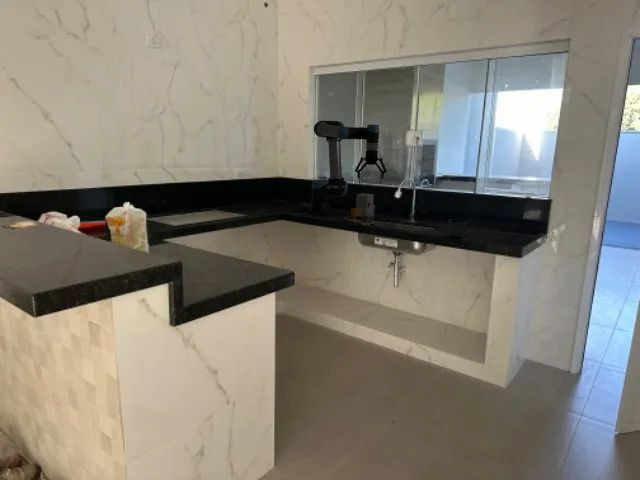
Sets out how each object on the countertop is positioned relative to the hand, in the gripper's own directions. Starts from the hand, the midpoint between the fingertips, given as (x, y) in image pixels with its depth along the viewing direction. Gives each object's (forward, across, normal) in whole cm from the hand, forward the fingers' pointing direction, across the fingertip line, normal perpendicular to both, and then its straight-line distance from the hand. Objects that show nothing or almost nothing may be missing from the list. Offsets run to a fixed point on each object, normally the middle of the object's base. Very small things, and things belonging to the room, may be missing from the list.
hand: (370, 183), depth 288 cm
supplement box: (+25, +1, +21) cm, 33 cm away
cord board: (+25, -5, -2) cm, 25 cm away
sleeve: (+23, -7, +3) cm, 24 cm away
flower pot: (+24, +44, -41) cm, 65 cm away
